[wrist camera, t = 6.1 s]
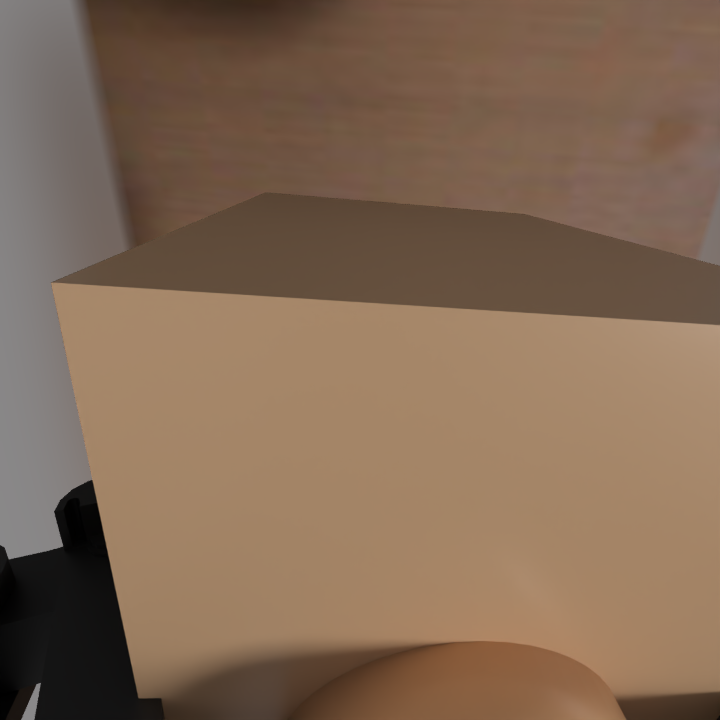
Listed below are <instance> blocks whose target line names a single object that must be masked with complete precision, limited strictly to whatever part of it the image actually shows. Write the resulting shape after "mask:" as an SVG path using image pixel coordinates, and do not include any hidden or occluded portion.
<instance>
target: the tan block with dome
mask: <svg viewBox="0 0 720 720" xmlns="http://www.w3.org/2000/svg"><path fill="white" fill-rule="evenodd" d="M51 285H52V290H53V295H54V299H55V304H56V309H57V314H58V318H59V323H60V327H61V333H62V337H63V342H64V347H65V351H66V356H67V361H68V366H69V370H70V375H71V380H72V384H73V389H74V394H75V399H76V404H77V408H78V413H79V418H80V423H81V427H82V432H83V437H84V442H85V446H86V451H87V455H88V460H89V465H90V470H91V475H92V479H93V484H94V489H95V494H96V499H97V503H98V508H99V513H100V517H101V522H102V527H103V532H104V536H105V541H106V546H107V551H108V555H109V560H110V565H111V570H112V574H113V579H114V584H115V589H116V593H117V598H118V603H119V608H120V612H121V617H122V622H123V627H124V631H125V636H126V641H127V646H128V650H129V655H130V660H131V665H132V669H133V674H134V679H135V683H136V688H137V693H138V698H161V699H162V705H163V711H164V716H165V720H716V719H717V718H718V717H719V715H720V266H718V265H715V264H711V263H707V262H703V261H700V260H696V259H692V258H688V257H685V256H681V255H677V254H673V253H670V252H666V251H662V250H658V249H654V248H651V247H647V246H643V245H639V244H636V243H632V242H628V241H624V240H620V239H617V238H613V237H609V236H605V235H601V234H598V233H594V232H590V231H586V230H583V229H579V228H575V227H571V226H567V225H564V224H560V223H556V222H552V221H549V220H545V219H541V218H537V217H533V216H530V215H526V214H518V213H506V212H494V211H482V210H470V209H458V208H446V207H434V206H422V205H410V204H398V203H386V202H374V201H362V200H350V199H338V198H326V197H314V196H302V195H290V194H278V193H263V194H261V195H259V196H256V197H254V198H251V199H249V200H247V201H244V202H242V203H239V204H237V205H235V206H232V207H230V208H228V209H225V210H223V211H220V212H218V213H216V214H213V215H211V216H208V217H206V218H204V219H201V220H199V221H197V222H194V223H192V224H189V225H187V226H185V227H182V228H180V229H177V230H175V231H173V232H170V233H168V234H166V235H163V236H161V237H158V238H156V239H154V240H151V241H149V242H146V243H144V244H142V245H139V246H137V247H135V248H132V249H130V250H127V251H125V252H123V253H120V254H118V255H115V256H113V257H111V258H108V259H106V260H104V261H101V262H99V263H97V264H94V265H92V266H89V267H87V268H85V269H82V270H80V271H77V272H75V273H73V274H70V275H68V276H65V277H63V278H61V279H58V280H56V281H54V282H51Z"/></svg>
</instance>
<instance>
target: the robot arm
mask: <svg viewBox="0 0 720 720" xmlns="http://www.w3.org/2000/svg"><path fill="white" fill-rule="evenodd" d="M54 513H55V517H56V520H57V524H58V528H59V532H60V536H61V539H62V543H63V547H60V548H57V549H53V550H50V551H46V552H42V553H37V554H32V555H28V556H23V557H19V558H14V559H10V560H9V559H8V556H7V553H6V550H5V548H4V547H2V546H1V545H0V720H21V719H22V716H23V714H24V712H25V709H26V707H27V705H28V702H29V700H30V698H31V695H32V693H33V691H34V689H35V686H36V684H38V683H41V686H40V691H39V697H38V703H37V709H36V714H35V720H165V716H164V711H163V705H162V699H161V698H138V693H137V688H136V683H135V679H134V674H133V669H132V665H131V660H130V655H129V650H128V646H127V641H126V636H125V631H124V627H123V622H122V617H121V612H120V608H119V603H118V598H117V593H116V589H115V584H114V579H113V574H112V570H111V565H110V560H109V555H108V551H107V546H106V541H105V536H104V532H103V527H102V522H101V517H100V513H99V508H98V503H97V499H96V494H95V489H94V484H93V480H91V481H88V482H86V483H84V484H82V485H80V486H78V487H76V488H74V489H72V490H71V491H70V492H69V493H68V494H67V495H66V496H64V497H63V499H61V500H60V502H59V504H58V506H57V508H56V509H55V511H54ZM716 720H720V715H719V717H718V718H717V719H716Z"/></svg>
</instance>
